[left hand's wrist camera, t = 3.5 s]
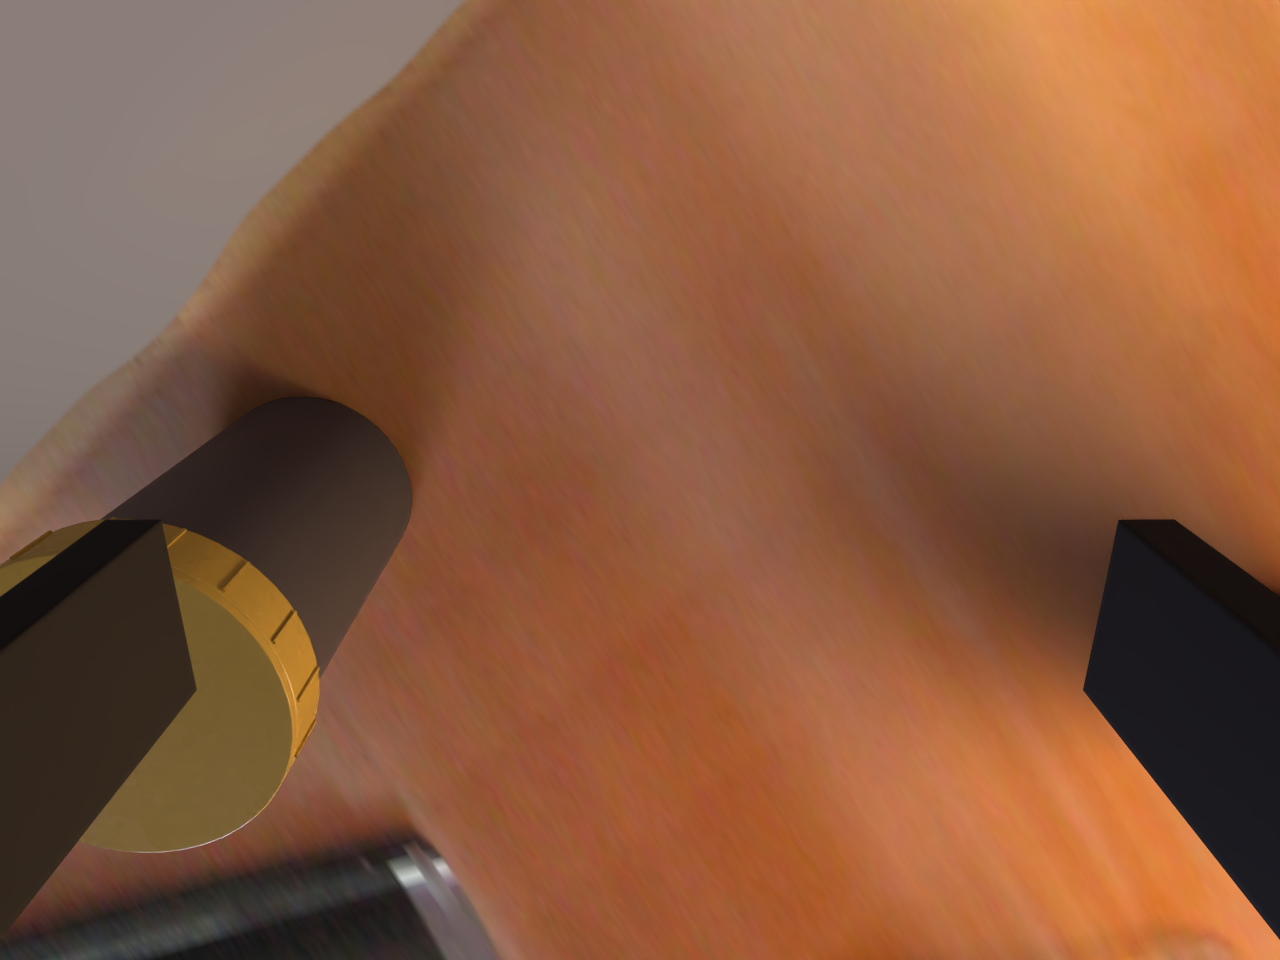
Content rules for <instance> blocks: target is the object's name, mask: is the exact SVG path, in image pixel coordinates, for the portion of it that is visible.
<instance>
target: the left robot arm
mask: <svg viewBox="0 0 1280 960" xmlns="http://www.w3.org/2000/svg"><path fill="white" fill-rule="evenodd" d="M196 691H197V688H196V683H195V678H194V674H193V669H192V664H191V659H190V654H189V650H188V645H187V640H186V635H185V630H184V626H183V621H182V616H181V611H180V606H179V602H178V597H177V592H176V587H175V582H174V578H173V573H172V568H171V563H170V558H169V554H168V549H167V544H166V539H165V534H164V530H163V525H162V520H104V521H103V522H101V523H100V524H99V525H97V526H96V527H95V528H93V529H92V530H91V531H89V532H88V533H86V534H85V535H84V536H82V537H81V538H80V539H78V540H77V541H76V542H74V543H73V544H71V545H70V546H69V547H67V548H66V549H65V550H63V551H62V552H60V553H59V554H58V555H56V556H55V557H54V558H52V559H51V560H50V561H48V562H47V563H45V564H44V565H43V566H41V567H40V568H39V569H37V570H36V571H35V572H33V573H32V574H30V575H29V576H28V577H26V578H25V579H24V580H22V581H21V582H20V583H18V584H17V585H15V586H14V587H13V588H11V589H10V590H9V591H7V592H6V593H5V594H3V595H2V596H0V939H1V938H2V937H3V935H4V934H5V933H6V932H7V930H8V929H9V928H10V927H11V925H12V924H13V923H14V922H15V920H16V919H17V918H18V916H19V915H20V914H21V913H22V911H23V910H24V909H25V908H26V906H27V905H28V904H29V903H30V901H31V900H32V899H33V897H34V896H35V895H36V894H37V892H38V891H39V890H40V889H41V887H42V886H43V885H44V883H45V882H46V881H47V880H48V878H49V877H50V876H51V875H52V873H53V872H54V871H55V870H56V868H57V867H58V866H59V864H60V863H61V862H62V861H63V859H64V858H65V857H66V856H67V854H68V853H69V852H70V850H71V849H72V848H73V847H74V845H75V844H76V843H77V842H78V840H79V839H80V838H81V837H82V835H83V834H84V833H85V831H86V830H87V829H88V828H89V826H90V825H91V824H92V823H93V821H94V820H95V819H96V818H97V816H98V815H99V814H100V812H101V811H102V810H103V809H104V807H105V806H106V805H107V804H108V802H109V801H110V800H111V798H112V797H113V796H114V795H115V793H116V792H117V791H118V790H119V788H120V787H121V786H122V785H123V783H124V782H125V781H126V779H127V778H128V777H129V776H130V774H131V773H132V772H133V771H134V769H135V768H136V767H137V766H138V764H139V763H140V762H141V760H142V759H143V758H144V757H145V755H146V754H147V753H148V752H149V750H150V749H151V748H152V746H153V745H154V744H155V743H156V741H157V740H158V739H159V738H160V736H161V735H162V734H163V733H164V731H165V730H166V729H167V727H168V726H169V725H170V724H171V722H172V721H173V720H174V719H175V717H176V716H177V715H178V713H179V712H180V711H181V710H182V708H183V707H184V706H185V705H186V703H187V702H188V701H189V700H190V698H191V697H192V696H193V694H194V693H195V692H196ZM1083 691H1084V692H1085V693H1086V694H1087V696H1088V697H1089V698H1090V700H1091V701H1092V702H1093V703H1094V705H1095V706H1096V707H1097V708H1098V710H1099V711H1100V712H1101V713H1102V715H1103V716H1104V717H1105V719H1106V720H1107V721H1108V722H1109V724H1110V725H1111V726H1112V727H1113V729H1114V730H1115V731H1116V733H1117V734H1118V735H1119V736H1120V738H1121V739H1122V740H1123V741H1124V743H1125V744H1126V745H1127V746H1128V748H1129V749H1130V750H1131V752H1132V753H1133V754H1134V755H1135V757H1136V758H1137V759H1138V760H1139V762H1140V763H1141V764H1142V766H1143V767H1144V768H1145V769H1146V771H1147V772H1148V773H1149V774H1150V776H1151V777H1152V778H1153V779H1154V781H1155V782H1156V783H1157V785H1158V786H1159V787H1160V788H1161V790H1162V791H1163V792H1164V793H1165V795H1166V796H1167V797H1168V798H1169V800H1170V801H1171V802H1172V804H1173V805H1174V806H1175V807H1176V809H1177V810H1178V811H1179V812H1180V814H1181V815H1182V816H1183V818H1184V819H1185V820H1186V821H1187V823H1188V824H1189V825H1190V826H1191V828H1192V829H1193V830H1194V831H1195V833H1196V834H1197V835H1198V837H1199V838H1200V839H1201V840H1202V842H1203V843H1204V844H1205V845H1206V847H1207V848H1208V849H1209V850H1210V852H1211V853H1212V854H1213V856H1214V857H1215V858H1216V859H1217V861H1218V862H1219V863H1220V864H1221V866H1222V867H1223V868H1224V870H1225V871H1226V872H1227V873H1228V875H1229V876H1230V877H1231V878H1232V880H1233V881H1234V882H1235V883H1236V885H1237V886H1238V887H1239V889H1240V890H1241V891H1242V892H1243V894H1244V895H1245V896H1246V897H1247V899H1248V900H1249V901H1250V903H1251V904H1252V905H1253V906H1254V908H1255V909H1256V910H1257V911H1258V913H1259V914H1260V915H1261V916H1262V918H1263V919H1264V920H1265V922H1266V923H1267V924H1268V925H1269V927H1270V928H1271V929H1272V930H1273V932H1274V933H1275V934H1276V935H1277V937H1278V938H1279V939H1280V596H1278V595H1277V594H1275V593H1274V592H1273V591H1271V590H1270V589H1269V588H1267V587H1266V586H1265V585H1263V584H1262V583H1260V582H1259V581H1258V580H1256V579H1255V578H1254V577H1252V576H1251V575H1250V574H1248V573H1247V572H1245V571H1244V570H1243V569H1241V568H1240V567H1239V566H1237V565H1236V564H1235V563H1233V562H1232V561H1230V560H1229V559H1228V558H1226V557H1225V556H1224V555H1222V554H1221V553H1220V552H1218V551H1217V550H1215V549H1214V548H1213V547H1211V546H1210V545H1209V544H1207V543H1206V542H1204V541H1203V540H1202V539H1200V538H1199V537H1198V536H1196V535H1195V534H1194V533H1192V532H1191V531H1189V530H1188V529H1187V528H1185V527H1184V526H1183V525H1181V524H1180V523H1179V522H1177V521H1176V520H1118V525H1117V530H1116V534H1115V539H1114V544H1113V549H1112V554H1111V558H1110V563H1109V568H1108V573H1107V578H1106V582H1105V587H1104V592H1103V597H1102V602H1101V606H1100V611H1099V616H1098V621H1097V626H1096V630H1095V635H1094V640H1093V645H1092V650H1091V654H1090V659H1089V664H1088V669H1087V674H1086V678H1085V683H1084V688H1083Z"/></svg>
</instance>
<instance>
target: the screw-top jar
mask: <svg viewBox="0 0 1280 960" xmlns="http://www.w3.org/2000/svg"><path fill="white" fill-rule="evenodd" d="M411 504H412V494H411V485H410V480H409V477H408V473H407V470H406V467H405V465H404V463H403V460H402V458H401V457H400V455H399V453H398V451H397V449H396V448H395V447H394V445H393V444H392V443H391V441H390V440H389V439H388V437H387V436H386V435H385V434H384V433H383V432H382V431H381V430H380V429H379V428H378V427H377V426H376V425H374V424H373V423H372V422H371V421H370V420H368V419H367V418H365V417H364V416H362V415H361V414H359V413H357V412H356V411H354V410H352V409H350V408H348V407H345V406H343V405H340V404H337V403H335V402H332V401H327V400H323V399H319V398H310V397H290V398H284V399H278V400H275V401H271V402H268V403H265V404H263V405H261V406H259V407H256V408H255V409H253V410H251V411H250V412H248V413H247V414H245V415H244V416H242V417H241V418H240V419H238V420H237V421H236V422H234V423H233V424H231V425H230V426H229V427H227V428H226V429H225V430H223V431H222V432H220V433H219V434H218V435H216V436H215V437H213V438H212V439H211V440H209V441H208V442H207V443H205V444H204V445H202V446H201V447H200V448H198V449H197V450H196V451H194V452H193V453H191V454H190V455H189V456H187V457H186V458H185V459H183V460H182V461H180V462H179V463H178V464H176V465H175V466H174V467H172V468H171V469H169V470H168V471H167V472H165V473H164V474H162V475H161V476H160V477H158V478H157V479H156V480H154V481H153V482H151V483H150V484H149V485H147V486H146V487H145V488H143V489H142V490H140V491H139V492H138V493H136V494H135V495H134V496H132V497H131V498H129V499H128V500H127V501H125V502H124V503H123V504H121V505H120V506H118V507H117V508H116V509H114V510H113V511H111V512H110V513H109V514H107V515H106V516H105V517H103V518H102V519H100V520H103V519H111V518H112V517H116V519H135V520H162V523H163V524H167V525H172V526H176V527H179V528H182V529H183V528H185V529H187V530H188V531H191V532H194V533H197V534H199V535H202V536H204V537H206V538H208V539H210V540H213V541H215V542H217V543H219V544H221V545H223V546H224V547H226V548H228V549H229V550H231V551H233V552H234V553H236V554H238V555H239V556H241V557H242V558H244V559H245V560H246V561H247V562H248V561H249V562H250V563H251V565H253V566H254V567H255V568H257V569H258V570H259V571H260V572H261V573H262V574H263V575H265V576H266V577H267V578H268V579H269V580H270V581H271V582H272V583H273V584H274V585H275V586H276V587H277V588H278V590H279V591H280V592H281V593H282V594H283V595H284V597H285V598H286V599H287V600H288V601H289V603H290V604H291V606H292V607H293V609H294V610H296V612H297V615H298V617H299V618H300V620H301V622H302V624H303V626H304V628H305V630H306V632H307V634H308V636H309V638H310V641H311V644H312V647H313V650H314V653H315V657H316V662H317V666H319V671H318V674H319V679H320V677H321V676H322V674H323V672H324V671H325V669H326V667H327V665H328V664H329V662H330V660H331V659H332V657H333V655H334V653H335V652H336V650H337V648H338V646H339V645H340V643H341V641H342V640H343V638H344V636H345V634H346V633H347V631H348V629H349V628H350V626H351V624H352V622H353V621H354V619H355V617H356V616H357V614H358V612H359V610H360V609H361V607H362V605H363V603H364V602H365V600H366V598H367V597H368V595H369V593H370V591H371V590H372V588H373V586H374V585H375V583H376V581H377V579H378V578H379V576H380V574H381V573H382V571H383V569H384V567H385V566H386V564H387V562H388V561H389V559H390V557H391V555H392V554H393V552H394V550H395V548H396V547H397V545H398V543H399V542H400V540H401V538H402V536H403V534H404V532H405V530H406V528H407V524H408V521H409V518H410V513H411Z"/></svg>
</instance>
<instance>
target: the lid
mask: <svg viewBox="0 0 1280 960" xmlns="http://www.w3.org/2000/svg"><path fill="white" fill-rule="evenodd" d="M104 520H135V519H116V517H112V518H111V519H103V520H96V521H89V522H82V523H79V524H75V525H72V526H68V527H65V528H61V529H59V530H57V531H55V532H52V531H51V530H50V531H48V532H46V533H45V534H43V535H42V536H40V537H39V538H37V539H36V540H35V541H33V542H32V543H30V544H29V545H27V546H26V547H24V548H23V549H21V550H20V551H18V552H17V553H15V554H14V555H13V556H11V557H10V559H9V560H7V561H6V562H4V563H3V564H1V565H0V596H2V595H3V594H5V593H6V592H7V591H9V590H10V589H11V588H13V587H14V586H15V585H17V584H18V583H20V582H21V581H22V580H24V579H25V578H26V577H28V576H29V575H30V574H32V573H33V572H35V571H36V570H37V569H39V568H40V567H41V566H43V565H44V564H45V563H47V562H48V561H50V560H51V559H52V558H54V557H55V556H56V555H58V554H59V553H60V552H62V551H63V550H65V549H66V548H67V547H69V546H70V545H71V544H73V543H74V542H76V541H77V540H78V539H80V538H81V537H82V536H84V535H85V534H86V533H88V532H89V531H91V530H92V529H93V528H95V527H96V526H97V525H99V524H100V523H101V522H103V521H104ZM162 525H163V530H164V534H165V539H166V544H167V549H168V554H169V558H170V563H171V568H172V573H173V578H174V582H175V587H176V592H177V597H178V602H179V606H180V611H181V616H182V621H183V626H184V630H185V635H186V640H187V645H188V650H189V654H190V659H191V664H192V669H193V674H194V678H195V683H196V688H197V691H196V692H195V693H194V694H193V696H192V697H191V698H190V700H189V701H188V702H187V703H186V705H185V706H184V707H183V708H182V710H181V711H180V712H179V713H178V715H177V716H176V717H175V719H174V720H173V721H172V722H171V724H170V725H169V726H168V727H167V729H166V730H165V731H164V733H163V734H162V735H161V736H160V738H159V739H158V740H157V741H156V743H155V744H154V745H153V746H152V748H151V749H150V750H149V752H148V753H147V754H146V755H145V757H144V758H143V759H142V760H141V762H140V763H139V764H138V766H137V767H136V768H135V769H134V771H133V772H132V773H131V774H130V776H129V777H128V778H127V779H126V781H125V782H124V783H123V785H122V786H121V787H120V788H119V790H118V791H117V792H116V793H115V795H114V796H113V797H112V798H111V800H110V801H109V802H108V804H107V805H106V806H105V807H104V809H103V810H102V811H101V812H100V814H99V815H98V816H97V818H96V819H95V820H94V821H93V823H92V824H91V825H90V826H89V828H88V829H87V830H86V831H85V833H84V834H83V835H82V837H81V838H80V839H79V840H78V841H79V842H82V843H86V844H89V845H93V846H97V847H102V848H107V849H113V850H118V851H129V852H140V853H145V852H169V851H177V850H184V849H188V848H193V847H197V846H201V845H204V844H207V843H210V842H212V841H215V840H218V839H221V838H223V837H225V836H227V835H228V834H230V833H232V832H234V831H236V830H238V829H240V828H241V827H242V826H244V825H245V824H246V823H248V822H249V821H251V820H252V819H253V818H255V817H256V816H257V815H258V814H259V813H260V812H261V811H262V810H263V809H264V808H265V807H266V806H267V805H268V803H269V802H270V801H271V799H272V798H273V797H274V795H275V794H276V792H277V791H278V789H279V788H280V786H281V784H282V782H283V780H284V779H285V777H286V775H287V773H288V771H289V769H290V768H291V766H292V764H293V762H294V760H295V758H297V757H298V755H299V753H300V751H301V749H302V747H303V746H304V744H305V742H306V740H307V738H308V736H309V734H310V733H311V731H312V729H313V727H314V725H315V723H316V720H314V718H315V715H316V712H317V706H318V699H319V674H318V671H319V666H317V662H316V657H315V653H314V650H313V647H312V644H311V641H310V638H309V636H308V634H307V632H306V630H305V628H304V626H303V624H302V622H301V620H300V618H299V617H298V615H297V612H296V610H294V609H293V607H292V606H291V604H290V603H289V601H288V600H287V599H286V598H285V597H284V595H283V594H282V593H281V592H280V591H279V590H278V588H277V587H276V586H275V585H274V584H273V583H272V582H271V581H270V580H269V579H268V578H267V577H266V576H265V575H263V574H262V573H261V572H260V571H259V570H258V569H257V568H255V567H254V566H253V565H251V563H250V562H249V561H248V562H247V561H246V560H245V559H244V558H242V557H241V556H239V555H238V554H236V553H234V552H233V551H231V550H229V549H228V548H226V547H224V546H223V545H221V544H219V543H217V542H215V541H213V540H210V539H208V538H206V537H204V536H202V535H199V534H197V533H194V532H191V531H188V530H187V529H185V528H183V529H182V528H179V527H176V526H172V525H167V524H163V523H162Z"/></svg>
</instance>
